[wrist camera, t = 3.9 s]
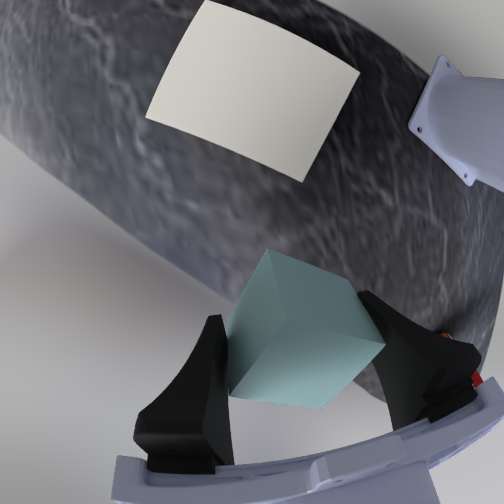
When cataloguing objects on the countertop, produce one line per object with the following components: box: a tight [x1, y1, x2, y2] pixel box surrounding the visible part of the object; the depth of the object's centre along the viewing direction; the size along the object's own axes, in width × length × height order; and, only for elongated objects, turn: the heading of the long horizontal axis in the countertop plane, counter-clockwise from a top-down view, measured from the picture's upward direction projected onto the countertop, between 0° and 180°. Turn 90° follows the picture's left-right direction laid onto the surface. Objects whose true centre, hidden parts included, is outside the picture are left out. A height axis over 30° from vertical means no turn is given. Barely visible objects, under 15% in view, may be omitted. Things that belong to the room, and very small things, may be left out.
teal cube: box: [227, 248, 386, 408], centre depth 13 cm, size 5×5×5 cm
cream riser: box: [145, 0, 360, 182], centre depth 15 cm, size 10×8×2 cm
